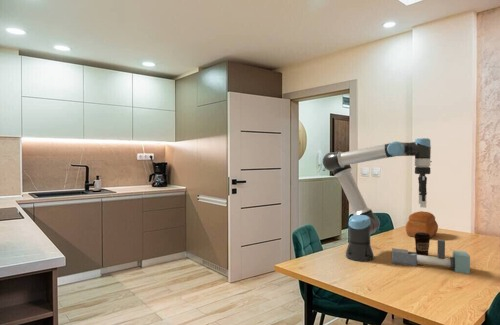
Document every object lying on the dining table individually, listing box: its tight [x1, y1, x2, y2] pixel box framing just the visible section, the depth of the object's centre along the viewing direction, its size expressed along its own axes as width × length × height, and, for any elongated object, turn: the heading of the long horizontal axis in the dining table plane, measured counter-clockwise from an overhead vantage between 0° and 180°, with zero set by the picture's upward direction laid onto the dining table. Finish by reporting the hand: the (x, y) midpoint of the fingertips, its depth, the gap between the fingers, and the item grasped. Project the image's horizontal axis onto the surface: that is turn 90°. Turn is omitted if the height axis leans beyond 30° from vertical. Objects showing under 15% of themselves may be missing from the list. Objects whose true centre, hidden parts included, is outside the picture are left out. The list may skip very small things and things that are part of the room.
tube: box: [411, 239, 455, 269], centre depth 167 cm, size 25×6×14 cm, turn 66°
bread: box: [405, 210, 439, 238], centre depth 235 cm, size 18×22×17 cm
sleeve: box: [391, 248, 418, 267], centre depth 174 cm, size 12×6×7 cm, turn 66°
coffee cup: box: [414, 232, 432, 256], centre depth 187 cm, size 9×8×13 cm
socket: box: [452, 250, 471, 275], centre depth 163 cm, size 6×9×8 cm, turn 156°
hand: (422, 205), depth 176 cm, fingers open, 13 cm apart
